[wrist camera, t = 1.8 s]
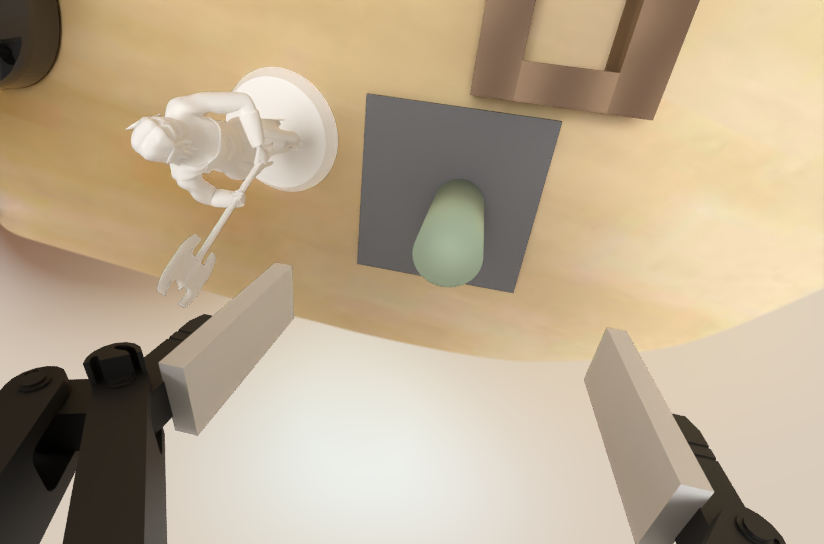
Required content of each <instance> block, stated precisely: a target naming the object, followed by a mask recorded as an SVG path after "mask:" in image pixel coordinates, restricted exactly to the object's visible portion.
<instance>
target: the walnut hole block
mask: <svg viewBox="0 0 824 544" xmlns="http://www.w3.org/2000/svg"><path fill="white" fill-rule="evenodd" d="M535 1H536V0H486V5H485V11H484V16H483V22H482V28H481V34H480V40H479V45H478V51H477V57H476V63H475V69H474V74H473V80H472V86H471V92H470V95H474V96H481V97H489V98H496V99H503V100H510V101H517V102H524V103H532V104H539V105H546V106H553V107H560V108H568V109H575V110H582V111H589V112H596V113H604V114H611V115H618V116H625V117H632V118H640V119H647V120H653V119H654V116H655V114H656V111H657V108H658V106H659V103H660V101H661V98H662V96H663V93H664V90H665V88H666V85H667V83H668V80H669V78H670V75H671V73H672V70H673V67H674V65H675V62H676V60H677V57H678V55H679V52H680V49H681V47H682V44H683V42H684V39H685V37H686V34H687V32H688V29H689V26H690V24H691V21H692V19H693V16H694V14H695V11H696V9H697V6H698V3H699V1H700V0H627V1H626V5H625V8H624V11H623V14H622V17H621V20H620V23H619V27H618V30H617V33H616V36H615V39H614V42H613V46H612V49H611V52H610V55H609V58H608V61H607V65H606V68H605V71H600V70H592V69H584V68H576V67H568V66H561V65H553V64H545V63H537V62H530V61H522V60H523V55H524V51H525V46H526V42H527V37H528V33H529V28H530V24H531V19H532V15H533V10H534V6H535Z"/></svg>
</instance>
